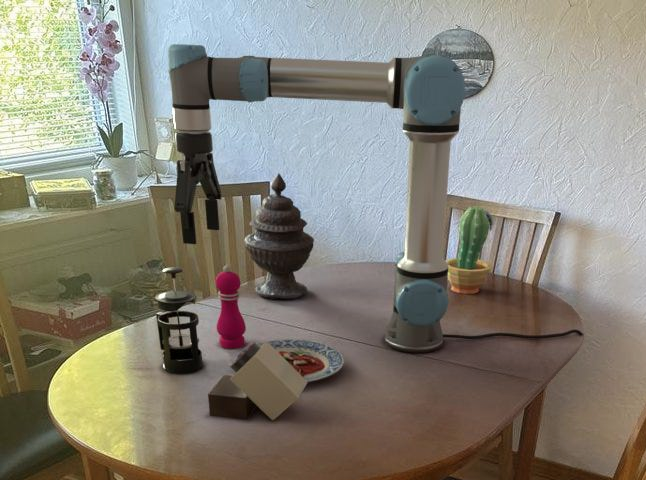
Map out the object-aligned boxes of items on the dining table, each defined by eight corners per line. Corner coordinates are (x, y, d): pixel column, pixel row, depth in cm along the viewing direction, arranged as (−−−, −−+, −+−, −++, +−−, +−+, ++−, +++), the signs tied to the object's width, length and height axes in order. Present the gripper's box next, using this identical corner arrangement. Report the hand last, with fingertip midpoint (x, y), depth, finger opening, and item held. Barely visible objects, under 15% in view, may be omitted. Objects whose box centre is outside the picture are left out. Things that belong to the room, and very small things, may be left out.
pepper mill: (241, 351, 175) (235, 270, 165) (213, 348, 177) (206, 268, 166) (250, 340, 181) (246, 262, 171) (224, 337, 183) (218, 260, 172)
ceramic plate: (301, 401, 152) (301, 388, 151) (212, 372, 164) (211, 360, 162) (364, 363, 171) (364, 351, 170) (279, 340, 182) (279, 329, 181)
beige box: (308, 406, 150) (306, 339, 142) (299, 423, 144) (296, 354, 136) (241, 400, 152) (235, 334, 144) (229, 416, 146) (222, 348, 138)
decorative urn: (277, 276, 227) (275, 160, 206) (326, 293, 218) (330, 174, 197) (232, 293, 214) (226, 172, 193) (283, 313, 205) (282, 187, 184)
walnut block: (261, 399, 153) (260, 378, 150) (246, 420, 144) (245, 398, 142) (225, 395, 154) (224, 374, 151) (209, 416, 145) (207, 394, 143)
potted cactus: (492, 297, 218) (503, 213, 204) (442, 296, 218) (450, 211, 204) (485, 283, 231) (495, 202, 217) (438, 281, 231) (446, 201, 217)
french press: (214, 365, 167) (205, 268, 155) (185, 378, 160) (174, 278, 148) (179, 354, 173) (168, 259, 160) (149, 366, 166) (136, 268, 154)
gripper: (199, 124, 157) (207, 223, 169) (149, 137, 136) (162, 248, 148) (231, 126, 156) (237, 225, 167) (185, 139, 135) (195, 251, 147)
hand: (202, 236), depth 158 cm, fingers open, 13 cm apart
